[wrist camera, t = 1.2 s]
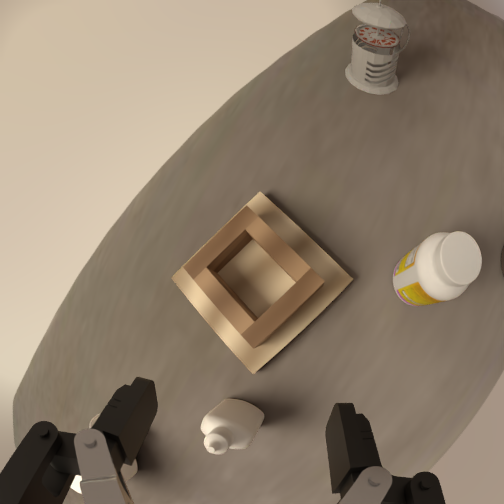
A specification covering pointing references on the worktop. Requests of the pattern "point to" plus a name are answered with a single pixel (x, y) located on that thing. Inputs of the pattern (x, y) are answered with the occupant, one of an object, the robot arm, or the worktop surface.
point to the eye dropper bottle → (231, 425)
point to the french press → (383, 39)
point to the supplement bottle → (437, 269)
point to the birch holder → (260, 281)
